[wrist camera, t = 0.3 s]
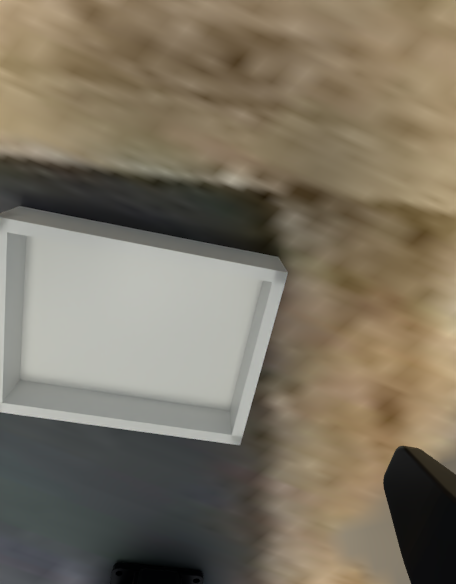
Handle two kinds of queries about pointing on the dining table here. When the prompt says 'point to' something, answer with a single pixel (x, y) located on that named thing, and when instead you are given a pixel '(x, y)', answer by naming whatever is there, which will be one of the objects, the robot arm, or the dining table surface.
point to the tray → (131, 326)
